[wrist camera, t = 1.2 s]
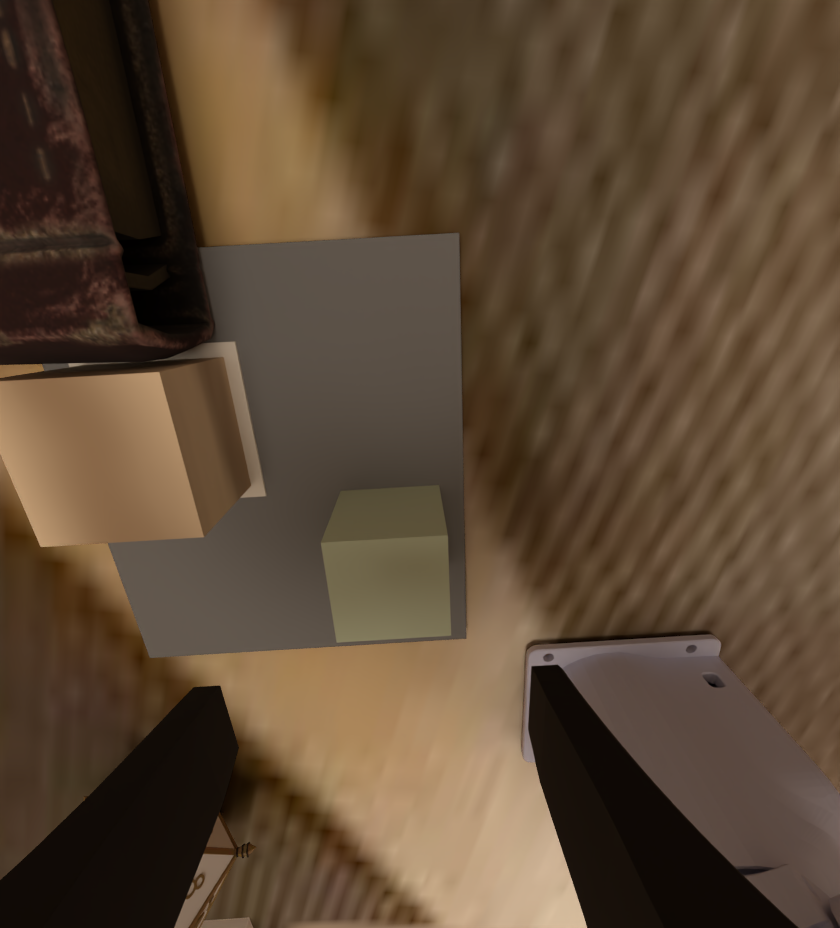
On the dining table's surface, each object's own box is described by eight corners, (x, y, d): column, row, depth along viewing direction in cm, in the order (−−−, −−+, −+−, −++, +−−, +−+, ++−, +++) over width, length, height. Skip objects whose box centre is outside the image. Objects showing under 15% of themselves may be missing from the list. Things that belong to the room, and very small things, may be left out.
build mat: (457, 236, 14) (459, 232, 13) (464, 629, 20) (466, 640, 19) (19, 260, 14) (0, 258, 13) (157, 648, 20) (148, 659, 19)
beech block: (223, 356, 15) (159, 372, 11) (251, 485, 16) (203, 537, 13) (83, 365, 15) (-31, 382, 11) (125, 493, 16) (40, 547, 13)
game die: (188, 710, 26) (-7, 795, 17) (300, 755, 24) (142, 884, 14) (149, 868, 25) (-89, 1055, 16) (263, 934, 22) (60, 1209, 13)
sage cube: (439, 484, 17) (447, 535, 13) (442, 568, 18) (451, 635, 14) (340, 490, 17) (320, 542, 13) (351, 573, 18) (336, 642, 14)
